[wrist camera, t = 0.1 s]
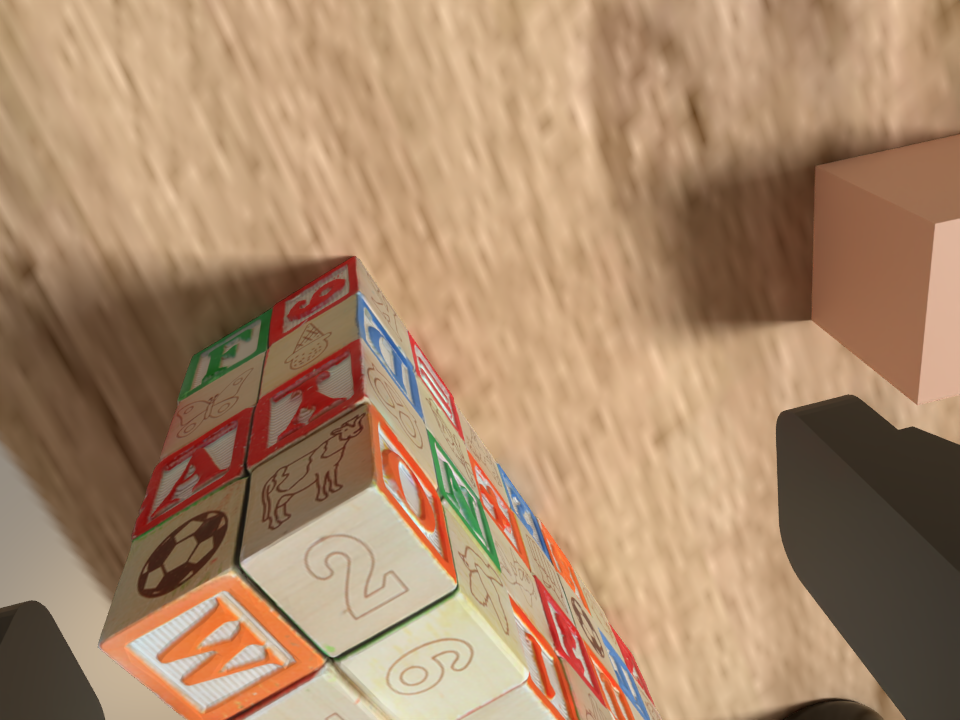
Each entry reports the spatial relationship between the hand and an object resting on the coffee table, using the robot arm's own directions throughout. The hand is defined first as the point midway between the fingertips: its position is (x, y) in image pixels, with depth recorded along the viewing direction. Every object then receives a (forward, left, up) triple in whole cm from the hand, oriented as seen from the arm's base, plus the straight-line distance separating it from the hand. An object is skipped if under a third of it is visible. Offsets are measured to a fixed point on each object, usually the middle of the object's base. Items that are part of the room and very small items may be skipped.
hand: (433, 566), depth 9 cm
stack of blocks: (+13, 0, -18) cm, 22 cm away
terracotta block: (+6, +17, -17) cm, 25 cm away
